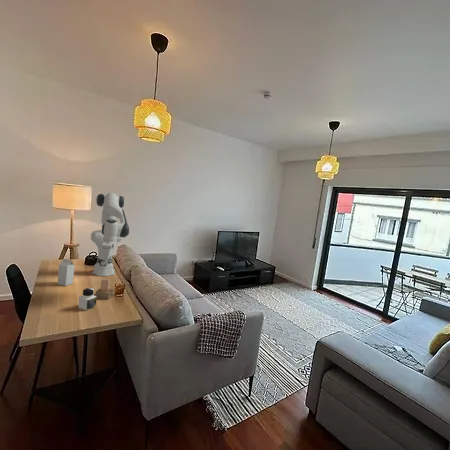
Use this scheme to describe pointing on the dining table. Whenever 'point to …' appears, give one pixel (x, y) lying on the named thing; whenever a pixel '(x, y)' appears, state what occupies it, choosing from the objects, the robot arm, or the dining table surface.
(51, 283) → the dining table surface
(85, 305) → the medicine bottle
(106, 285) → the pink block
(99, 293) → the tan square block
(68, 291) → the dining table surface
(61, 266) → the milk carton
